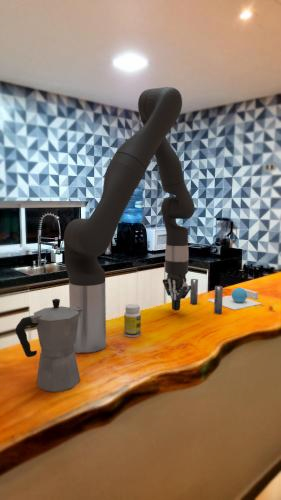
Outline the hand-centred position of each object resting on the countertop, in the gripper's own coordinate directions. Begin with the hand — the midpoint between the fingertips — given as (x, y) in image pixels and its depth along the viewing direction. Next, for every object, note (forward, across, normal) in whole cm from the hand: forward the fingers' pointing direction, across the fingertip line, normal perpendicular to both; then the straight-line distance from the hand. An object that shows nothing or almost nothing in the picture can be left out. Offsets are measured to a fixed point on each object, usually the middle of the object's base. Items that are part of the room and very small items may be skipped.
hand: (175, 309), depth 122 cm
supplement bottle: (+2, +8, -22) cm, 23 cm away
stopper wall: (+2, -3, +38) cm, 38 cm away
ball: (-1, +1, +28) cm, 29 cm away
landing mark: (+2, 0, +27) cm, 27 cm away
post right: (+2, +6, +13) cm, 15 cm away
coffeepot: (+2, +23, -50) cm, 55 cm away
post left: (+2, -6, +13) cm, 15 cm away
